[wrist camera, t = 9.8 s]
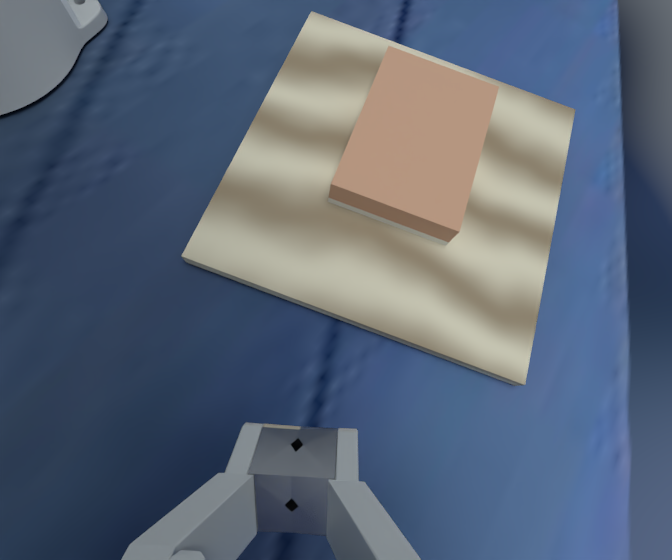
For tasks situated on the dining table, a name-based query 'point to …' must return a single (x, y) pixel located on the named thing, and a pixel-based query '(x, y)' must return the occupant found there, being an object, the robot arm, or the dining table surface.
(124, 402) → the dining table surface
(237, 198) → the board
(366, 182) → the tile
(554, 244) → the dining table surface
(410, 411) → the dining table surface
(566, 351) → the dining table surface
